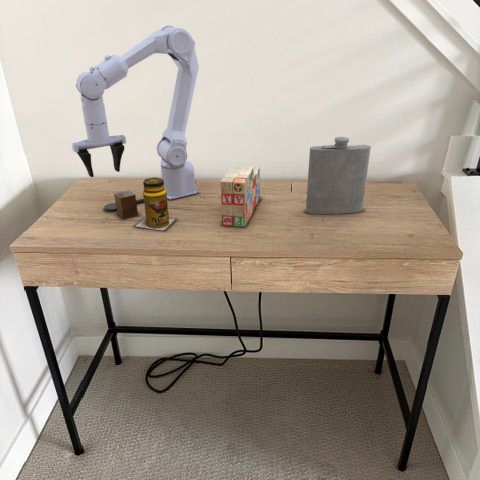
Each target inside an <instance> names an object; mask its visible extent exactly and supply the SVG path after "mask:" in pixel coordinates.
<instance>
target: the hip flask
mask: <svg viewBox="0 0 480 480" xmlns="http://www.w3.org/2000/svg"><path fill="white" fill-rule="evenodd" d="M349 141H350V138H349V137H346V136H337V137H334V144H327V145H326V144H325V145H321V146H319V145H314V146H310V147H309V158H308V173H307V185H306V186H307V187H306V188H307V190H306V201H305V202H306V203H305V212H306V213H307V214H310V215H311V214H312V215H341V214H353V213H360V212H363V207H364V201H365V193H366V187H367V186H366V185H367V179H368V177H367V176H368V171H369V164H370V155H371V149H372V147H371V146H370V145H368V144H357V145H348V143H350V142H349Z"/></svg>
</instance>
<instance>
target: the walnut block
mask: <svg viewBox="0 0 480 480" xmlns="http://www.w3.org/2000/svg"><path fill="white" fill-rule="evenodd" d="M113 197H114V201H115V202H114V203H116V209H117V211H116V214H117V215H118V216H119V217H120V218H121V219H123V220H125V219H129V218H134V217H138V216H139V211H138V203H136V200H137V196H136V194H135V193H134V192H133V191H131V190H130V189H126V190H123V191H119V192H118V191H117V192H114V193H113Z"/></svg>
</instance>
